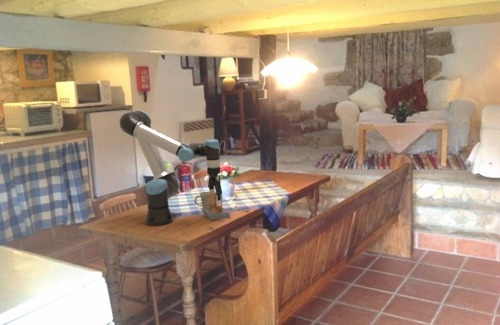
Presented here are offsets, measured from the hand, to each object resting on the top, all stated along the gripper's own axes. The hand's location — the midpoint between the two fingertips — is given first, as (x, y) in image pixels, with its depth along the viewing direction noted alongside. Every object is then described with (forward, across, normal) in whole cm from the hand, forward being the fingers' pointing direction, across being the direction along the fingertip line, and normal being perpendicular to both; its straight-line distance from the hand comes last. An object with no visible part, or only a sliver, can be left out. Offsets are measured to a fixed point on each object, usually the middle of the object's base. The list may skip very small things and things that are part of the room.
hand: (215, 203), depth 273 cm
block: (+5, 0, 0) cm, 5 cm away
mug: (+8, +19, +2) cm, 21 cm away
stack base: (+8, 0, 0) cm, 8 cm away
